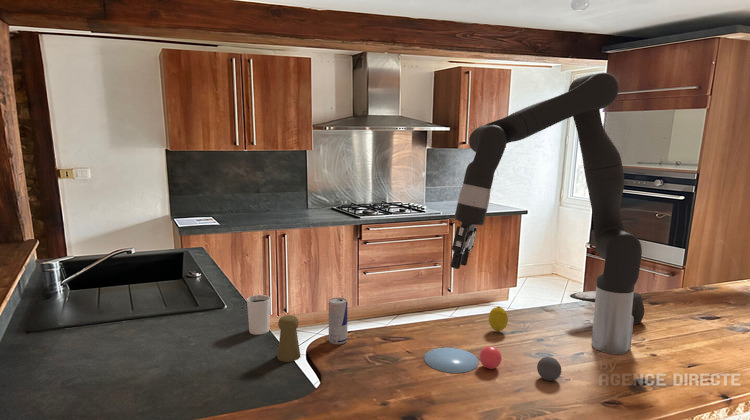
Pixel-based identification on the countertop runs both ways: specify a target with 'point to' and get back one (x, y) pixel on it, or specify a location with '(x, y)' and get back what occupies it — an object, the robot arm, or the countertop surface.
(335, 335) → the energy drink
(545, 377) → the gray ball
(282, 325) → the cork
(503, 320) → the lemon
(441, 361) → the blue mark
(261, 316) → the white cup
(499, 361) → the red ball
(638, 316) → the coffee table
